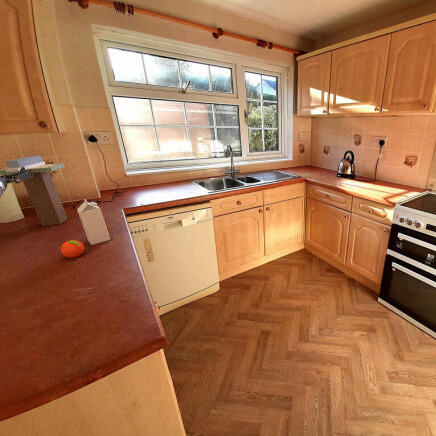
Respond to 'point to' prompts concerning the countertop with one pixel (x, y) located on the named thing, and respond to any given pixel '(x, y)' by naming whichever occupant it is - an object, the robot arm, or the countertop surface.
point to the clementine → (72, 248)
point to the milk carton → (93, 223)
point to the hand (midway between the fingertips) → (2, 171)
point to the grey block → (24, 163)
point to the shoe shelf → (44, 194)
